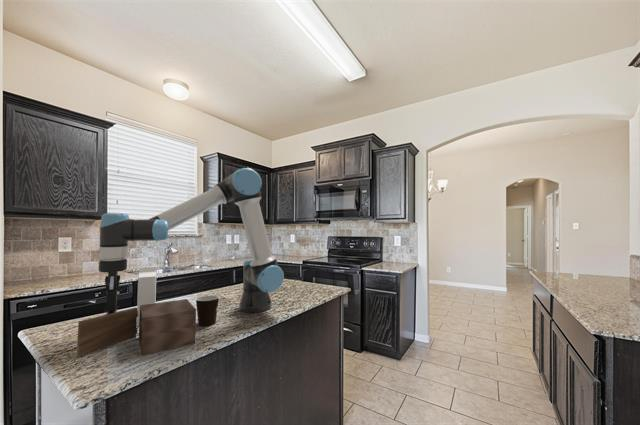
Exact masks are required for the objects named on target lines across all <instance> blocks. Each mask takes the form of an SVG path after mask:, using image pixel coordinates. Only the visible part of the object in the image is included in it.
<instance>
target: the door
mask: <svg viewBox="0 0 640 425" xmlns="http://www.w3.org/2000/svg"><path fill="white" fill-rule="evenodd" d="M137 317H138V310H137V307H131V308H128V309H124V310H120V311H117V312H115V313H111V314H107V315H106V314H103V315H99V316H94V317H92V318H87V319H83V320H79V321H77V322H78V326H77V327H78V328H77V343H76V357H77V358H80V357H83V356H86V355H89V354H91V353H95V352H98V351H101V350H103V349H107V348H109V347H112V346H115V345H118V344H121V343H124V342H127V341H130V340H132V339H133V340H134V339H136V338H137V335H138V332H139V326H137Z"/></svg>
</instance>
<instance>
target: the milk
mask: <svg viewBox="0 0 640 425" xmlns="http://www.w3.org/2000/svg"><path fill="white" fill-rule="evenodd" d="M137 280H138V281H137V305H136V308H137V310H138V317H137V325H136V327H139V315H140V305H147V304H154V303H156V298H157V295H156V294H157V267H145V268H142V267H141V268H139V269H138V279H137Z"/></svg>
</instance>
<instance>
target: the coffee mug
mask: <svg viewBox="0 0 640 425" xmlns="http://www.w3.org/2000/svg"><path fill="white" fill-rule="evenodd" d="M219 300H220V296H219V295H204V296H200V297H196V298H195V304H196V316H197V323H198V326H200V327H209V326H212V325H215V324H216V322H217V315H218V308H219V302H220V301H219Z"/></svg>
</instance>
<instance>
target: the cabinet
mask: <svg viewBox="0 0 640 425" xmlns="http://www.w3.org/2000/svg"><path fill="white" fill-rule="evenodd" d="M196 322H197V308H196V307H195V306H194V305H193V304H192V303H191V301H189V299H187V298H185V299H178V300H170V301H162V302H155V303H154V304H147V305H140V315H139V326H138V343H139V351H140V356H145V355H149V354H150V355H151V354H154V353H159V352H164V351H168V350H173V349H177V348H180V347H185V346H189V345H194V344H196V326H197V323H196Z"/></svg>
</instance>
